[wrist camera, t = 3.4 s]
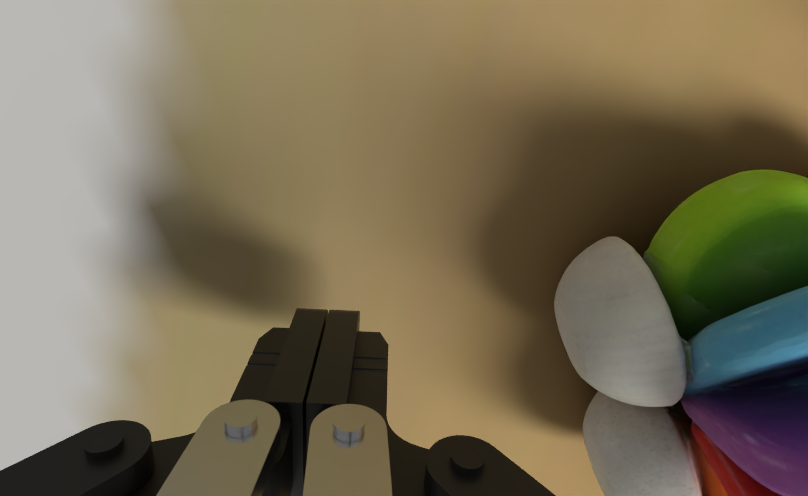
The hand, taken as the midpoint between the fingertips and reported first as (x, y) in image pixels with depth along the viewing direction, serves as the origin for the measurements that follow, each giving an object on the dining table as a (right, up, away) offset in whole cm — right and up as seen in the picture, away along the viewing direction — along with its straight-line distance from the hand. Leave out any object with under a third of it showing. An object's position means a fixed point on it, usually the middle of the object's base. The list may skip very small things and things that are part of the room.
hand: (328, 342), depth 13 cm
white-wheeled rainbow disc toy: (+10, 0, +2) cm, 10 cm away
